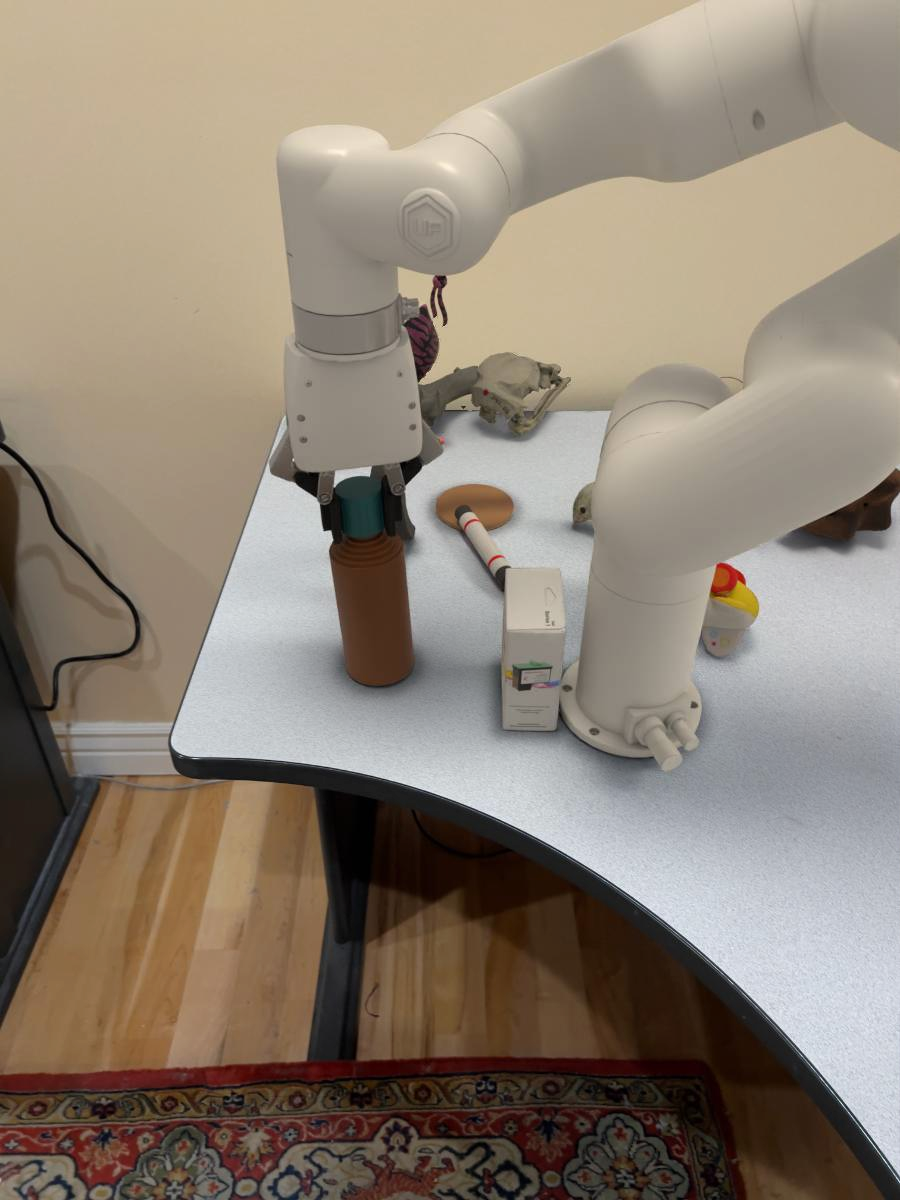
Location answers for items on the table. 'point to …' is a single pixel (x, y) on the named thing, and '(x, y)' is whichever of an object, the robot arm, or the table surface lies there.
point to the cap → (360, 506)
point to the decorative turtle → (860, 512)
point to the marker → (483, 543)
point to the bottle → (373, 607)
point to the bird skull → (515, 389)
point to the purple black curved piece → (426, 331)
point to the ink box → (532, 648)
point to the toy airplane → (728, 611)
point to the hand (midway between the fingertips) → (362, 529)
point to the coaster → (476, 505)
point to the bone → (445, 392)
